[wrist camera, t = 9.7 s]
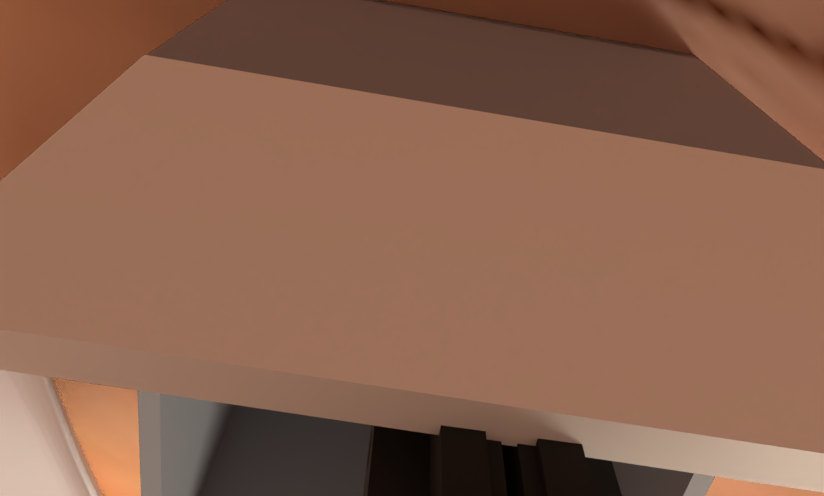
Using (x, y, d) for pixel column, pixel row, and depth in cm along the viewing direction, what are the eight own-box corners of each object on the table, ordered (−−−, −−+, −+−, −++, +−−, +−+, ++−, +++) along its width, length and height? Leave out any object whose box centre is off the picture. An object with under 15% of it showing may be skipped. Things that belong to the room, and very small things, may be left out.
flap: (-130, 350, 8) (-144, 306, 7) (145, 83, 15) (144, 54, 14) (1165, 543, 8) (1204, 510, 8) (846, 200, 15) (860, 175, 15)
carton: (694, 54, 26) (859, 191, 16) (565, 423, 35) (617, 668, 24) (257, -22, 26) (127, 68, 15) (236, 373, 34) (144, 604, 24)
